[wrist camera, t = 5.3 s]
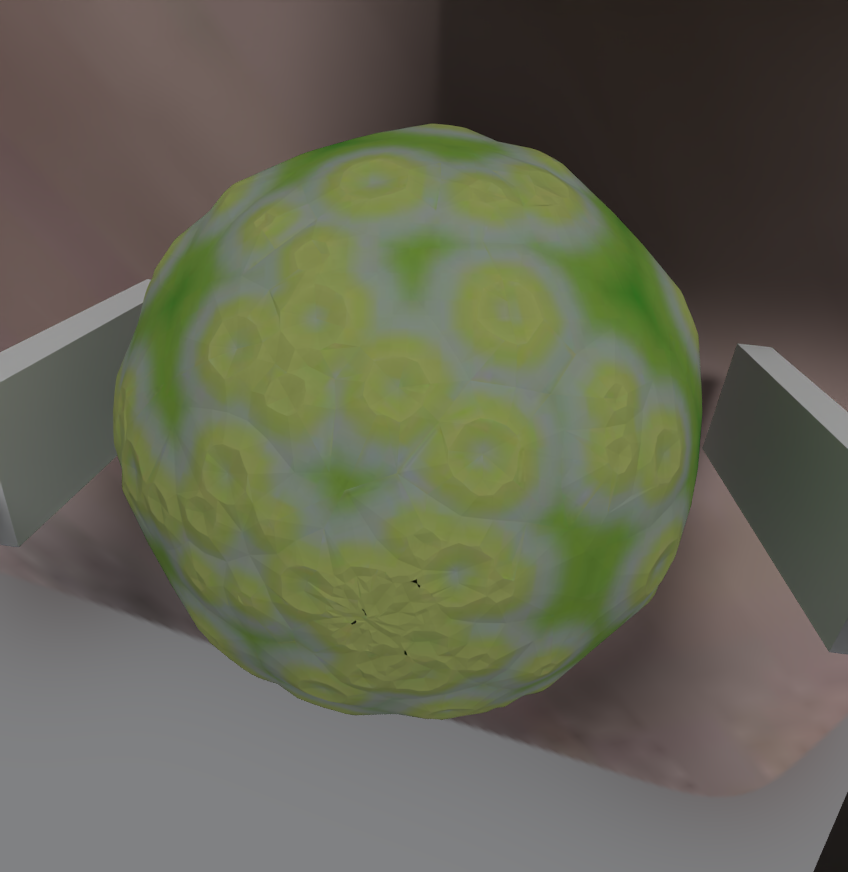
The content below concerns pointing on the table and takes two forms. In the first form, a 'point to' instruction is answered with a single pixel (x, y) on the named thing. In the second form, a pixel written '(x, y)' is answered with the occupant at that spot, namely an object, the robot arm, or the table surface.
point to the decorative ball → (411, 422)
